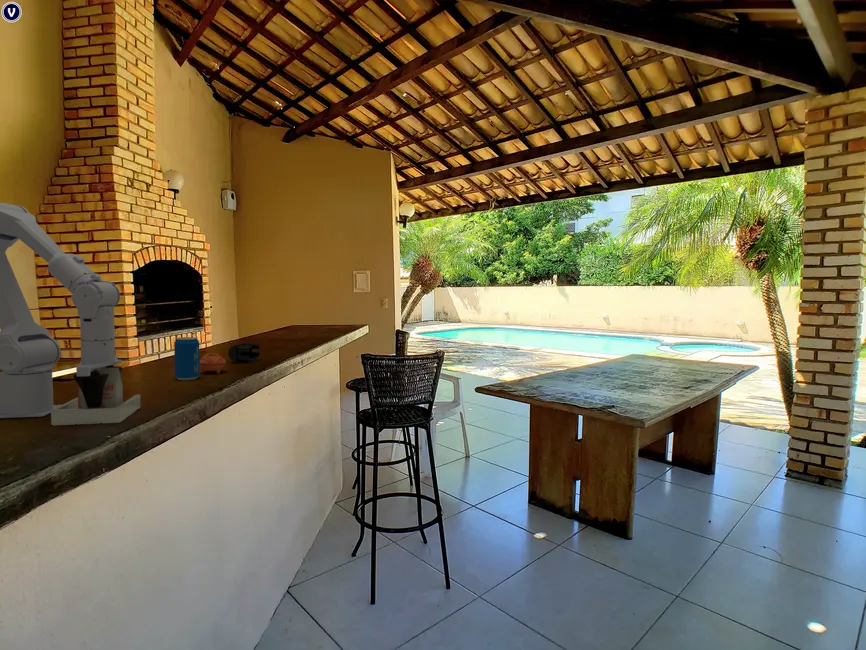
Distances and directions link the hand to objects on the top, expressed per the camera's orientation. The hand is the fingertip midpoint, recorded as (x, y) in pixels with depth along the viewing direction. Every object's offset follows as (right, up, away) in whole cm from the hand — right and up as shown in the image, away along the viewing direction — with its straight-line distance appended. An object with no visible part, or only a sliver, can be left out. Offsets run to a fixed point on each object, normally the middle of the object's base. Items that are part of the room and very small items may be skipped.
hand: (99, 404), depth 97 cm
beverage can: (-2, +1, +39) cm, 39 cm away
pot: (0, +1, +49) cm, 49 cm away
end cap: (+1, +3, +71) cm, 71 cm away
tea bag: (0, -3, +1) cm, 3 cm away
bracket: (0, -2, 0) cm, 2 cm away
